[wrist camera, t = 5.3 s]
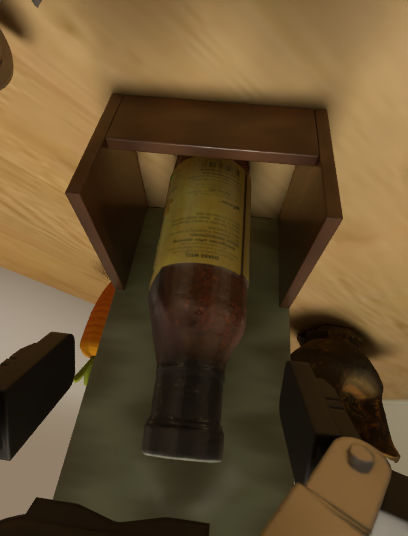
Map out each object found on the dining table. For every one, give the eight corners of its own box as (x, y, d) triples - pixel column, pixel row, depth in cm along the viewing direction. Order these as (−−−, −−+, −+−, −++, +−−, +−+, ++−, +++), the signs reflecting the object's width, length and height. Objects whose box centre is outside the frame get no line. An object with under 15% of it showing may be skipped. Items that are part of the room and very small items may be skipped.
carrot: (96, 265, 41) (55, 384, 33) (131, 265, 40) (97, 388, 32) (113, 283, 45) (80, 393, 37) (145, 283, 44) (118, 397, 36)
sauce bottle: (159, 156, 24) (76, 445, 14) (228, 121, 21) (187, 463, 11) (203, 208, 29) (165, 455, 19) (266, 186, 26) (262, 470, 16)
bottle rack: (327, 109, 20) (426, 775, 7) (284, 227, 30) (291, 583, 17) (111, 93, 20) (-162, 666, 8) (141, 213, 31) (46, 544, 18)
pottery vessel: (394, 353, 56) (421, 486, 46) (336, 360, 63) (348, 476, 53) (323, 303, 42) (338, 477, 32) (259, 319, 50) (256, 464, 39)
